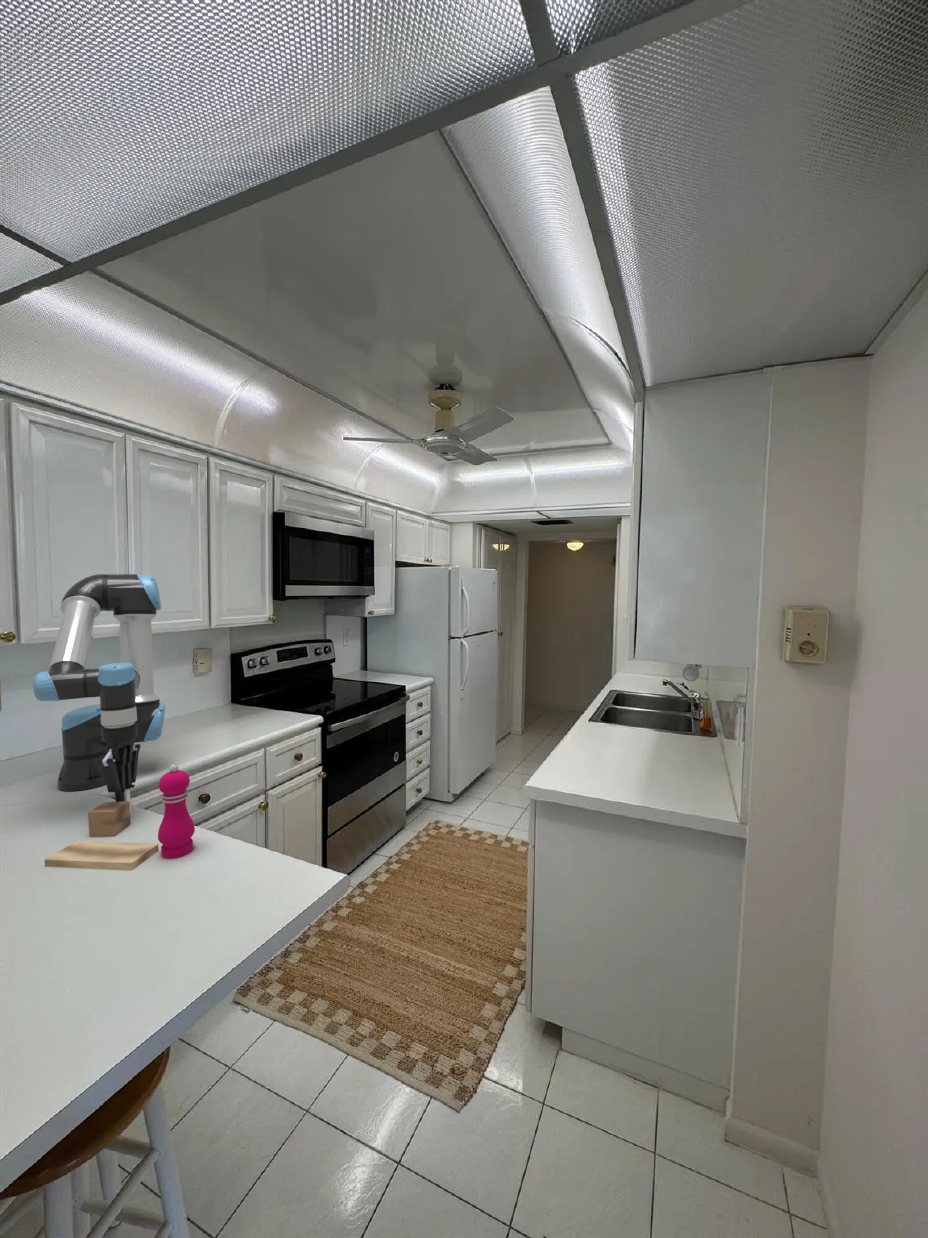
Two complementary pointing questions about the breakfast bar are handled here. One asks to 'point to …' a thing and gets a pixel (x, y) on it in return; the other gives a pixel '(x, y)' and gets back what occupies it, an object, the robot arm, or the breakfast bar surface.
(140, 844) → the oak board
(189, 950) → the breakfast bar surface
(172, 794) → the pepper mill
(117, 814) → the walnut block
